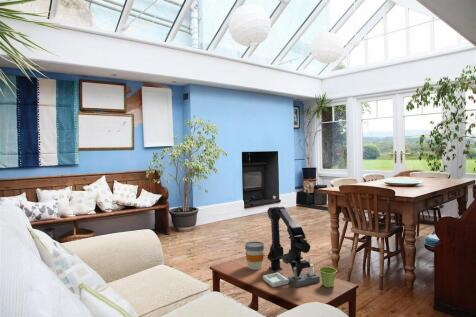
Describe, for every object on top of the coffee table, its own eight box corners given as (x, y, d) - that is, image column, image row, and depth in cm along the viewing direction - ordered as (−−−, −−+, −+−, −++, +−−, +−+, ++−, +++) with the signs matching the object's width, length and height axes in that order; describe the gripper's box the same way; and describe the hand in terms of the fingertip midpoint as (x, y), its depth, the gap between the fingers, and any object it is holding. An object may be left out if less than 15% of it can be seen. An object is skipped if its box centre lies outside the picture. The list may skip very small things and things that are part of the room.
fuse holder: (288, 281, 178) (288, 276, 178) (311, 276, 184) (311, 271, 184) (296, 287, 170) (296, 281, 170) (319, 281, 177) (319, 276, 177)
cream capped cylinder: (292, 282, 176) (292, 267, 176) (297, 281, 177) (297, 266, 177) (295, 285, 173) (295, 269, 173) (300, 283, 174) (300, 268, 174)
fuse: (307, 279, 180) (306, 264, 180) (311, 278, 181) (311, 263, 181) (310, 281, 177) (310, 266, 177) (315, 280, 178) (314, 265, 178)
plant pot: (338, 283, 173) (338, 268, 173) (334, 290, 165) (334, 274, 165) (322, 280, 178) (321, 265, 178) (317, 287, 170) (317, 271, 170)
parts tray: (263, 279, 182) (262, 275, 182) (277, 276, 186) (277, 272, 186) (273, 287, 171) (273, 283, 171) (288, 283, 175) (288, 279, 175)
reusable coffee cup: (243, 265, 207) (242, 242, 207) (260, 262, 211) (259, 240, 210) (249, 271, 195) (248, 248, 195) (267, 268, 199) (267, 245, 198)
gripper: (274, 245, 180) (275, 272, 180) (293, 255, 163) (293, 284, 163) (291, 243, 185) (291, 269, 185) (310, 251, 168) (311, 280, 168)
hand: (296, 275), depth 175 cm, fingers closed on cream capped cylinder, 3 cm apart
